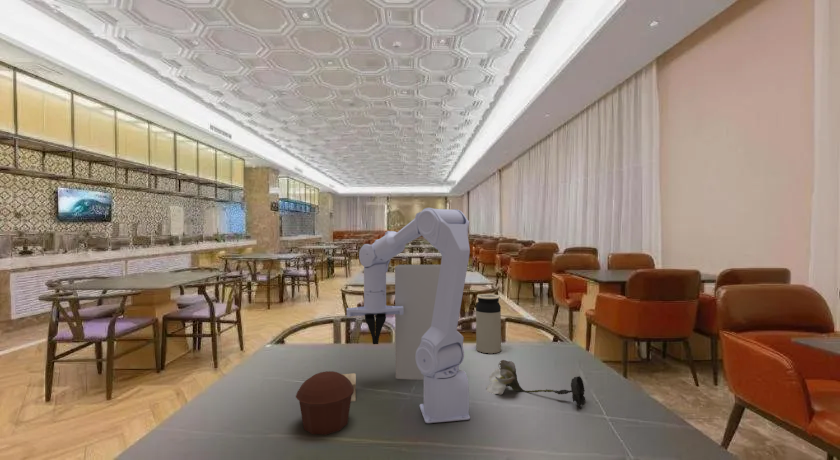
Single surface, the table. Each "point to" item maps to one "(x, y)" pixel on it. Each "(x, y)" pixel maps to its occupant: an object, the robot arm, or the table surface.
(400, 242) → the robot arm
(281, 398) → the table surface
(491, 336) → the travel mug
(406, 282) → the tall grey block
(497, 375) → the artificial flower
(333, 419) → the muffin
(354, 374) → the maple block
